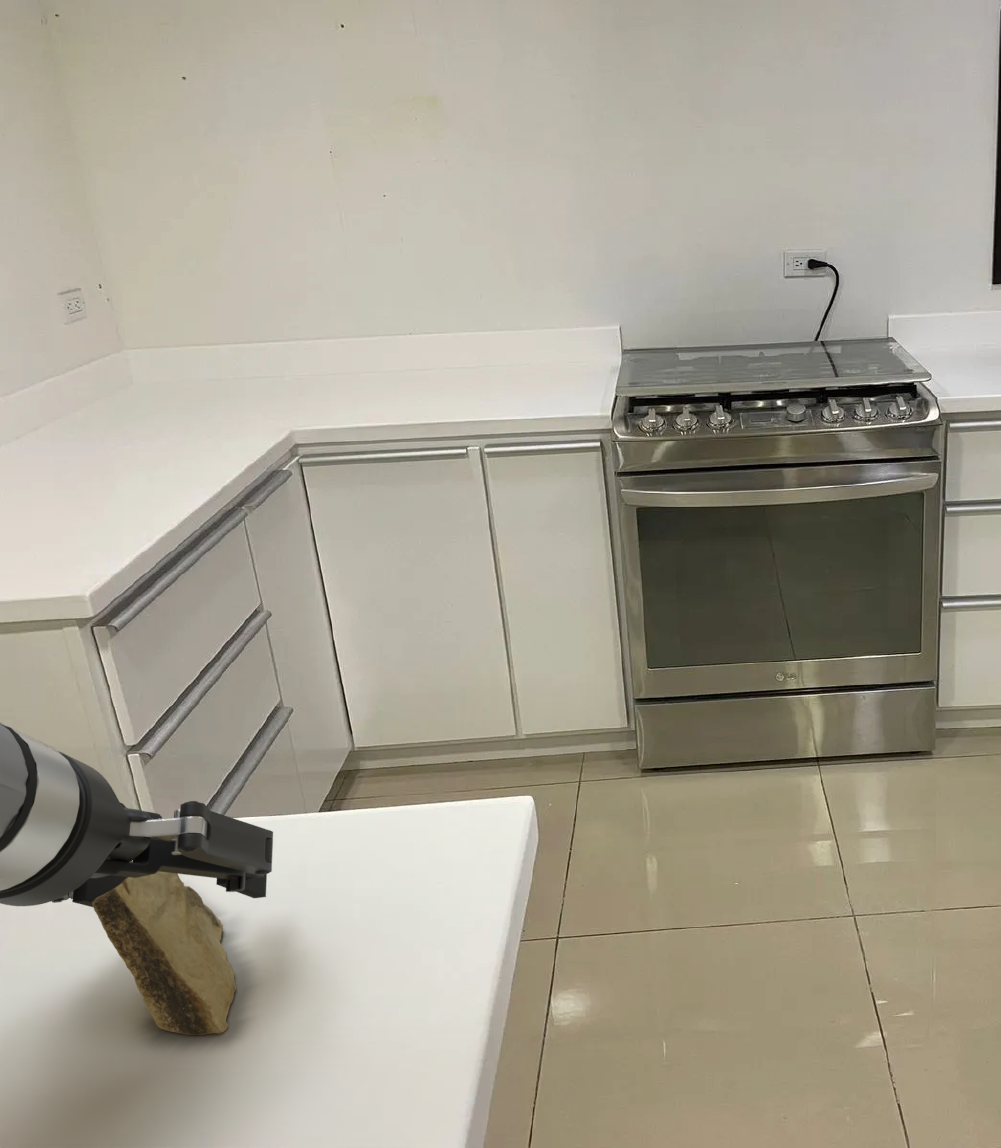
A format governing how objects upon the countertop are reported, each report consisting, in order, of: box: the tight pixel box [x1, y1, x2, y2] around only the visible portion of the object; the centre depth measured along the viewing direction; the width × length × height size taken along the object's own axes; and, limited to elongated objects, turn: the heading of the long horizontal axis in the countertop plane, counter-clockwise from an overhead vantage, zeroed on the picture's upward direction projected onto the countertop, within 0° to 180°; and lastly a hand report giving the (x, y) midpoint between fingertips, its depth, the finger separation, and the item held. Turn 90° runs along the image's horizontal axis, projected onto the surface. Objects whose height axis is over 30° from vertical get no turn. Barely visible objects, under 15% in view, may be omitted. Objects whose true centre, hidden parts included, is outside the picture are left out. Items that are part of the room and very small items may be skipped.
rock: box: [92, 871, 237, 1036], centre depth 72 cm, size 11×9×10 cm
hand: (195, 885), depth 75 cm, fingers open, 8 cm apart
